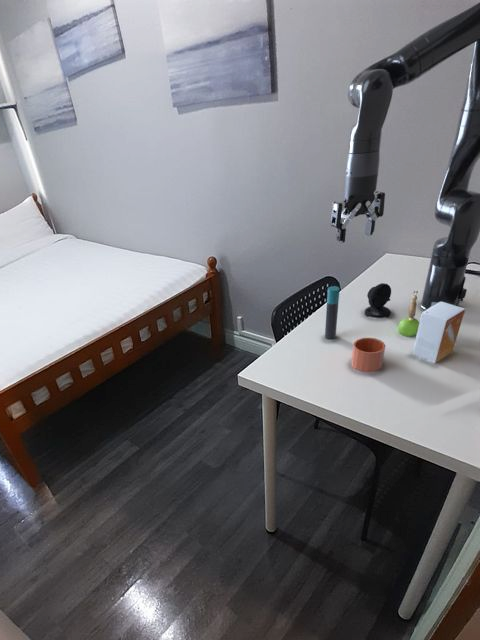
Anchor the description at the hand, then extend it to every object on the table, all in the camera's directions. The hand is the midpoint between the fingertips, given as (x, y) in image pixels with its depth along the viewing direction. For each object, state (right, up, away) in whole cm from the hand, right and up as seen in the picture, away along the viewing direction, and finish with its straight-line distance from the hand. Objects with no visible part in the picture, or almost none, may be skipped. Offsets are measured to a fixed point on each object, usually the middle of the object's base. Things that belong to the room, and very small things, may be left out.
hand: (355, 238), depth 108 cm
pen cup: (+2, -34, -3) cm, 35 cm away
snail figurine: (+18, -25, +6) cm, 31 cm away
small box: (+19, -32, -3) cm, 37 cm away
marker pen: (-3, -26, +10) cm, 28 cm away
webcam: (+14, -18, +18) cm, 29 cm away
